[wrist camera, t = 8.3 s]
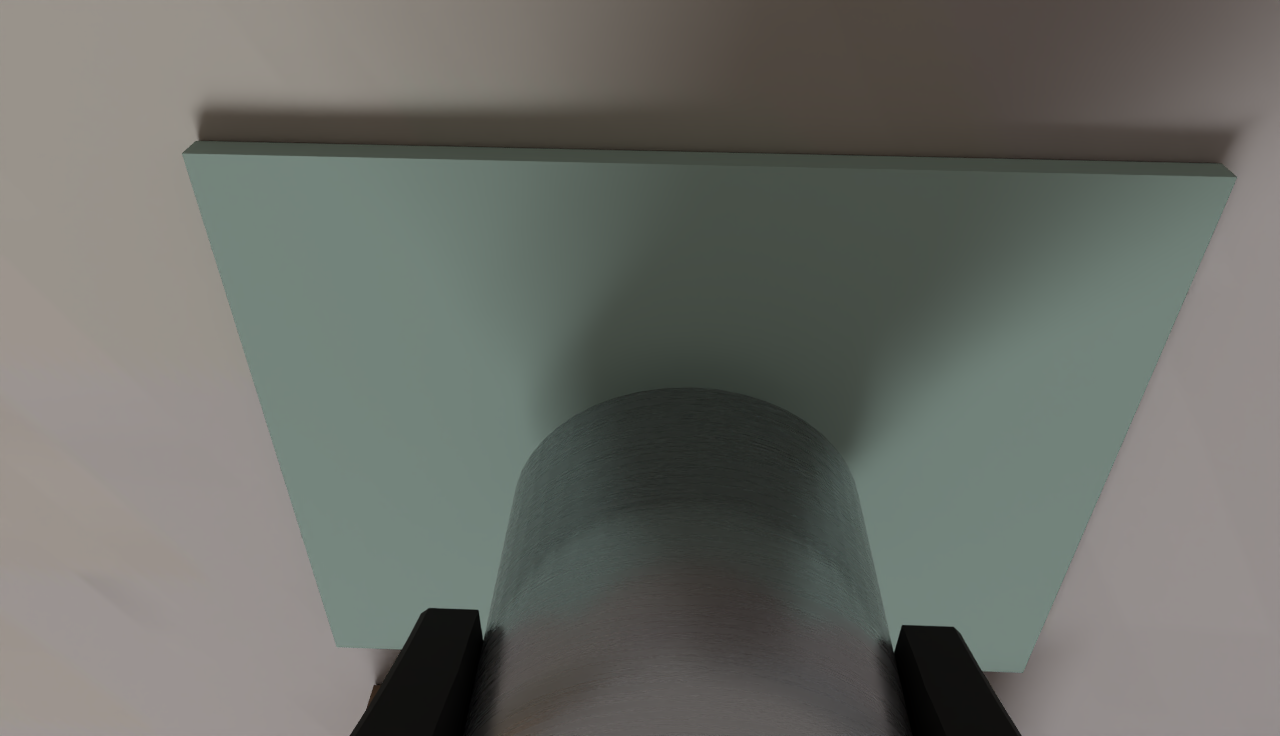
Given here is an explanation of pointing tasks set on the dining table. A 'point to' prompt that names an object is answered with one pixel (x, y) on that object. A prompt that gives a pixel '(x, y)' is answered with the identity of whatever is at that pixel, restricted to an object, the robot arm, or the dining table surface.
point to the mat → (700, 343)
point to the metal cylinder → (686, 581)
